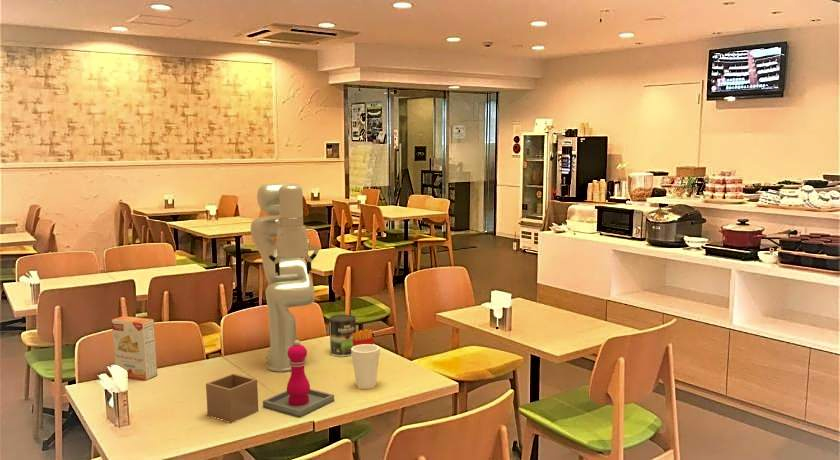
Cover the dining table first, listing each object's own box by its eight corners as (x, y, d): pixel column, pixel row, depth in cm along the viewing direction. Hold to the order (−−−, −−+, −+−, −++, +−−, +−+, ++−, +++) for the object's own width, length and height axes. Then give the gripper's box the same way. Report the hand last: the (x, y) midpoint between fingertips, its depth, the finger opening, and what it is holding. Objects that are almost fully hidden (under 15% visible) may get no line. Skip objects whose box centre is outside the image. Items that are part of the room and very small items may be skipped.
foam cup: (375, 391, 224) (375, 353, 222) (348, 389, 225) (347, 351, 224) (383, 381, 233) (382, 344, 231) (357, 380, 235) (356, 343, 233)
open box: (207, 415, 206) (205, 383, 204) (234, 404, 214) (233, 373, 213) (231, 423, 200) (229, 390, 199) (258, 411, 209) (257, 379, 207)
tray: (263, 407, 212) (262, 400, 211) (298, 391, 224) (297, 385, 224) (300, 417, 203) (299, 411, 203) (334, 400, 216) (334, 394, 216)
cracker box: (114, 376, 241) (110, 319, 239) (127, 371, 247) (124, 315, 244) (145, 381, 236) (141, 322, 234) (158, 375, 242) (154, 318, 239)
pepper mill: (288, 398, 217) (286, 337, 215) (311, 397, 218) (309, 336, 215) (285, 406, 210) (283, 343, 207) (309, 405, 210) (307, 343, 208)
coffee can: (360, 354, 263) (359, 318, 262) (335, 358, 259) (334, 322, 257) (350, 347, 272) (349, 313, 271) (326, 351, 268) (325, 316, 266)
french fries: (369, 357, 259) (369, 326, 258) (375, 360, 256) (374, 329, 255) (350, 362, 254) (350, 330, 252) (356, 364, 251) (355, 333, 249)
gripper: (264, 225, 218) (266, 277, 220) (318, 223, 221) (320, 274, 223) (264, 222, 225) (267, 273, 227) (317, 220, 229) (319, 270, 231)
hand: (293, 274), depth 225 cm, fingers open, 9 cm apart
